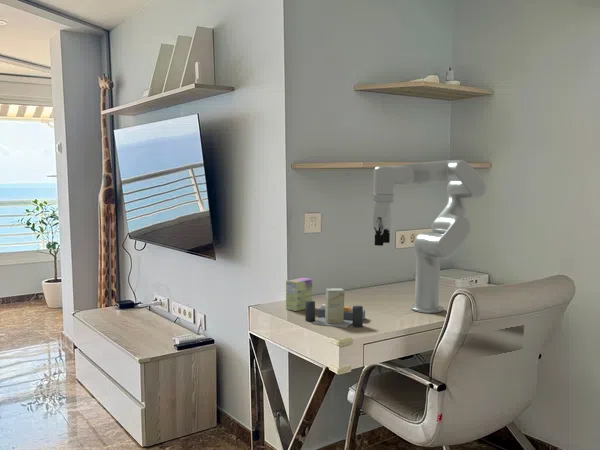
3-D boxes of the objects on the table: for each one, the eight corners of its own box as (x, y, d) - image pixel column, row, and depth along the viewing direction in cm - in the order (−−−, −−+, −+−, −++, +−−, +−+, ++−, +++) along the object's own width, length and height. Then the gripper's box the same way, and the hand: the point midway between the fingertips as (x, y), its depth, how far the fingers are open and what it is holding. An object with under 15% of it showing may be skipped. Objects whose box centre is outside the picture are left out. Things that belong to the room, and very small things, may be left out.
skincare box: (327, 323, 201) (328, 290, 200) (324, 320, 205) (325, 288, 204) (344, 322, 202) (344, 290, 201) (340, 319, 207) (341, 287, 206)
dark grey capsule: (353, 324, 202) (353, 305, 202) (363, 324, 202) (363, 305, 201) (352, 326, 199) (352, 307, 198) (362, 327, 198) (362, 307, 198)
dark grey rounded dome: (305, 319, 209) (305, 300, 209) (315, 319, 209) (315, 300, 208) (304, 321, 206) (304, 302, 205) (314, 321, 205) (314, 302, 205)
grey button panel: (323, 313, 218) (323, 302, 218) (365, 318, 211) (365, 306, 211) (307, 323, 203) (307, 311, 202) (352, 328, 196) (352, 316, 196)
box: (301, 305, 232) (301, 277, 231) (312, 307, 228) (312, 278, 227) (285, 309, 224) (285, 280, 223) (296, 311, 220) (296, 282, 219)
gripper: (379, 198, 219) (378, 241, 220) (367, 199, 203) (366, 246, 204) (398, 198, 216) (397, 242, 217) (387, 200, 200) (386, 247, 201)
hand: (382, 244), depth 211 cm, fingers open, 9 cm apart
